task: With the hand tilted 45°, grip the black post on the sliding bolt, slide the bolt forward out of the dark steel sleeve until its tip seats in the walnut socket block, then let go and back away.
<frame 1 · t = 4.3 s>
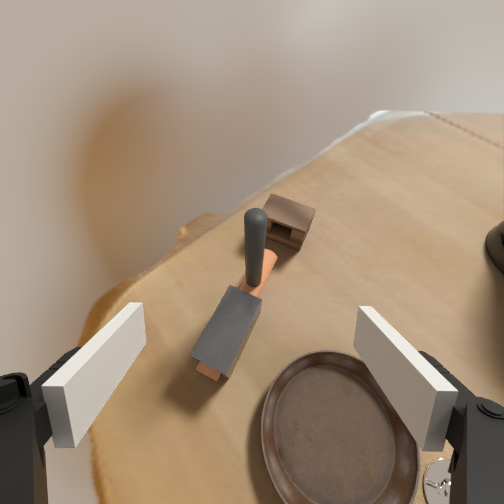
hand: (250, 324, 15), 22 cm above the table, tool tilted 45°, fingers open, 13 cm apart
sleeve: (246, 306, 39), on the table
plant saucer: (330, 429, 31), on the table
sliding bolt: (239, 288, 29), point 10 cm above the table, slide at 0.0 cm
socket: (285, 222, 44), on the table
wineglass: (451, 494, 28), on the table
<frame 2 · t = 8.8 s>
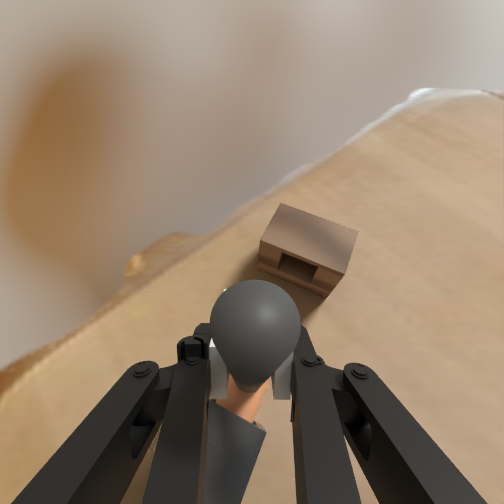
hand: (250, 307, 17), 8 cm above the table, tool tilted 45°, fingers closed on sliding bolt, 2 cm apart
sleeve: (235, 410, 21), on the table
sliding bolt: (212, 451, 12), point 10 cm above the table, slide at 0.0 cm, touching gripper
socket: (303, 251, 26), on the table
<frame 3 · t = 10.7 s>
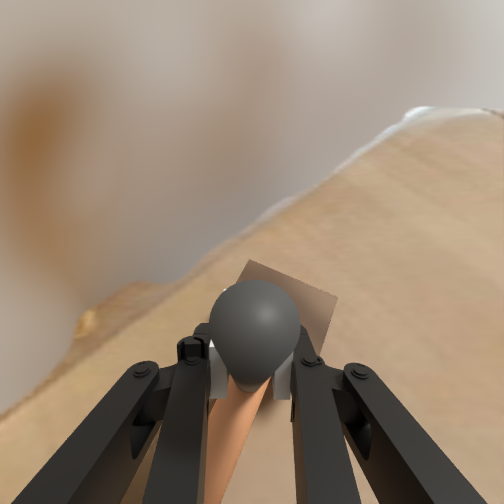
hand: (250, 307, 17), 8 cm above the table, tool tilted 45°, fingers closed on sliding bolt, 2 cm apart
sliding bolt: (212, 451, 12), point 10 cm above the table, slide at 7.3 cm, touching gripper
socket: (276, 314, 23), on the table
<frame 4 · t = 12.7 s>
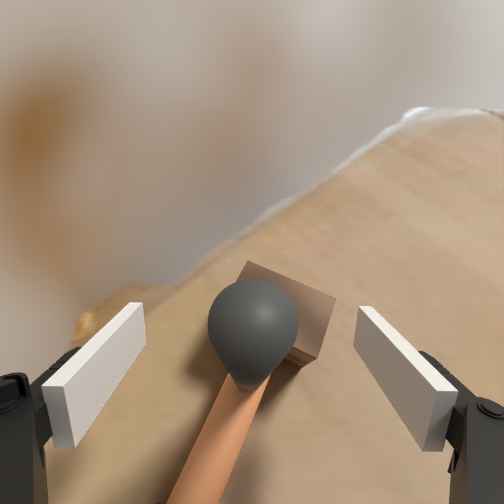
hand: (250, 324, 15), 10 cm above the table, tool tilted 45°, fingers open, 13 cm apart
sliding bolt: (211, 450, 12), point 10 cm above the table, slide at 7.5 cm
socket: (275, 315, 23), on the table
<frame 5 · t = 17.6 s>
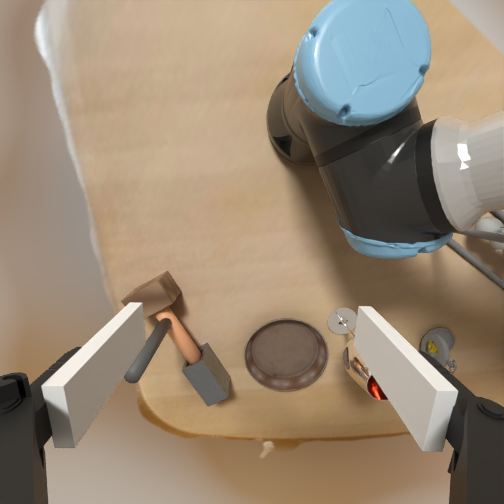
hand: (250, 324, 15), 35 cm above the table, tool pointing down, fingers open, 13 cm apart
pocket watch: (430, 338, 55), on the table
sleeve: (198, 347, 55), on the table
plant saucer: (284, 347, 56), on the table
sliding bolt: (167, 358, 44), point 10 cm above the table, slide at 7.5 cm
newton's cradle: (494, 246, 50), on the table
socket: (152, 295, 49), on the table
wineglass: (341, 320, 54), on the table
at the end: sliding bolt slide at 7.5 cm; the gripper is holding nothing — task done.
